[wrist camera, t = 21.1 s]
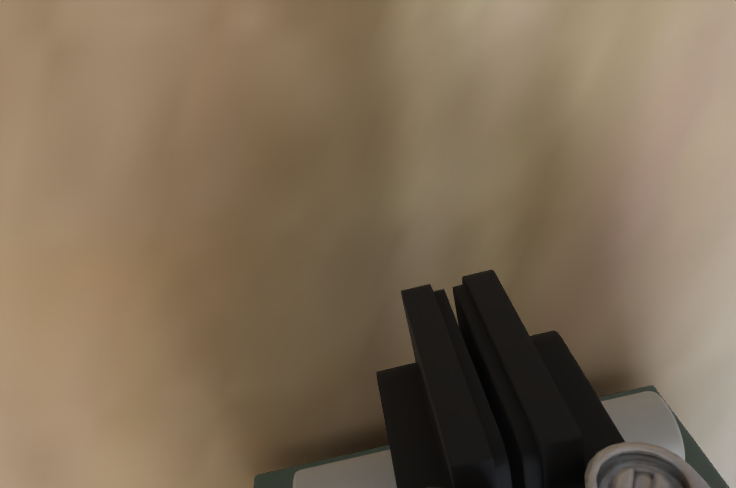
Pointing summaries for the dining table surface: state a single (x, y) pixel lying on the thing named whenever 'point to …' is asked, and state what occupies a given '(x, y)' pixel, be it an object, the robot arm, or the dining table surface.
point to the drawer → (626, 409)
